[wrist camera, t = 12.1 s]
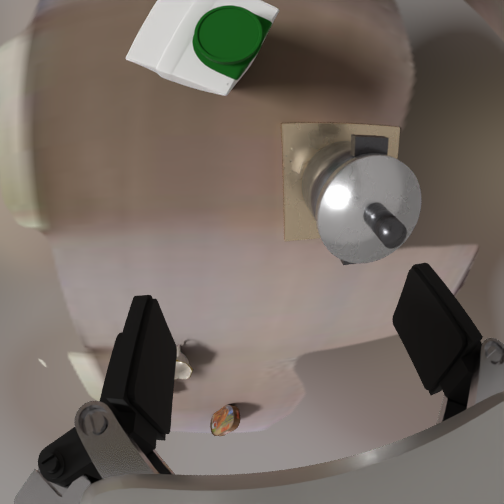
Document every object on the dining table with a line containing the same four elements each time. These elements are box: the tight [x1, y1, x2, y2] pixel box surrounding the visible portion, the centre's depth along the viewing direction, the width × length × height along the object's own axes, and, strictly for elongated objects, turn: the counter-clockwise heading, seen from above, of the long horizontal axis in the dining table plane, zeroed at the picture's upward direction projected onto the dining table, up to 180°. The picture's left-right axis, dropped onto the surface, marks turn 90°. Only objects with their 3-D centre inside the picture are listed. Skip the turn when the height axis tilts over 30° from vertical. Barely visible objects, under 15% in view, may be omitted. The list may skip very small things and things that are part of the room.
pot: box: [281, 122, 400, 265], centre depth 35 cm, size 18×18×10 cm
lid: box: [315, 153, 421, 263], centre depth 28 cm, size 14×14×6 cm
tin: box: [210, 405, 240, 436], centre depth 74 cm, size 15×3×8 cm, turn 146°
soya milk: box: [126, 0, 279, 96], centre depth 20 cm, size 9×9×20 cm
